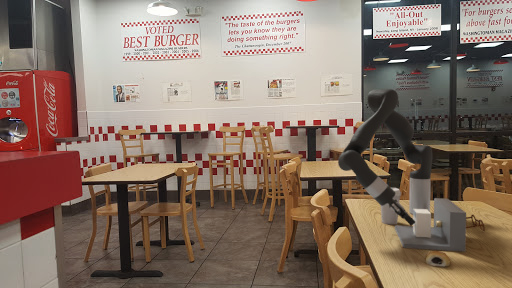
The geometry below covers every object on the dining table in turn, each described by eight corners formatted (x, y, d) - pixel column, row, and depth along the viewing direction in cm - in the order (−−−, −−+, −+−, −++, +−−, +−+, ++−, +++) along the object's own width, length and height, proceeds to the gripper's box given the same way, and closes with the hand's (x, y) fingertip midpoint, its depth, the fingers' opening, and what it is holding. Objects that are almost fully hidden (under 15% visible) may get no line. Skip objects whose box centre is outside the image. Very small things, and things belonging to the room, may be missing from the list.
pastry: (428, 255, 125) (428, 244, 125) (451, 259, 122) (451, 248, 122) (425, 265, 117) (425, 253, 117) (449, 269, 114) (449, 257, 114)
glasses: (485, 233, 150) (485, 221, 149) (450, 232, 152) (450, 220, 152) (473, 224, 163) (473, 213, 162) (441, 223, 165) (441, 212, 165)
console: (394, 228, 156) (395, 196, 155) (446, 231, 151) (447, 198, 151) (403, 247, 133) (403, 210, 132) (465, 251, 128) (466, 212, 127)
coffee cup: (400, 220, 169) (400, 187, 168) (401, 226, 160) (401, 191, 159) (378, 218, 172) (378, 186, 171) (378, 224, 163) (378, 190, 162)
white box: (412, 231, 146) (412, 208, 146) (426, 232, 145) (427, 209, 145) (415, 236, 140) (416, 213, 139) (430, 237, 138) (431, 213, 138)
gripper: (389, 187, 138) (424, 221, 136) (385, 181, 151) (417, 212, 149) (373, 200, 140) (408, 235, 137) (371, 194, 152) (403, 225, 150)
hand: (413, 223), depth 143 cm, fingers closed
